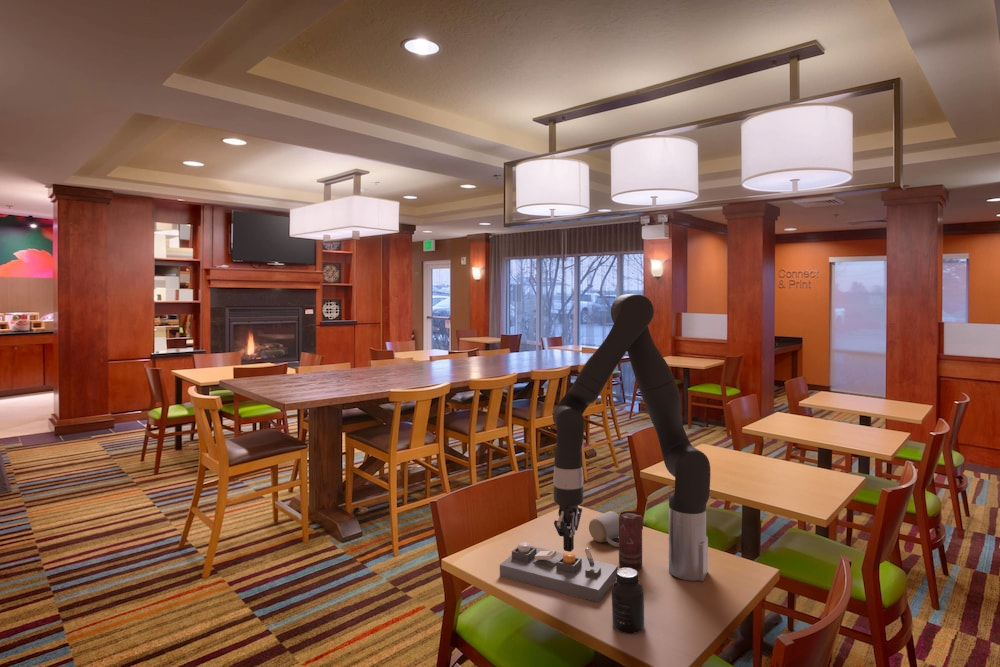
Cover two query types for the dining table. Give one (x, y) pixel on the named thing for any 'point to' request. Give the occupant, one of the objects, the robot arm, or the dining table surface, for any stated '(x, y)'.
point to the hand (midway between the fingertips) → (568, 550)
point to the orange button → (569, 558)
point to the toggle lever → (589, 557)
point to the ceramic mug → (605, 528)
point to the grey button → (524, 547)
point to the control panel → (560, 574)
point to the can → (630, 539)
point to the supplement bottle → (627, 601)
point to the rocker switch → (545, 555)
